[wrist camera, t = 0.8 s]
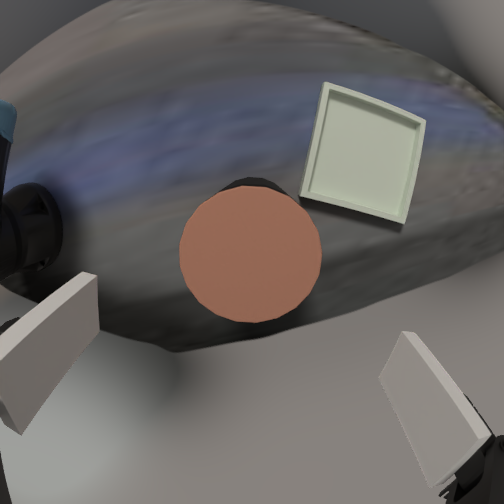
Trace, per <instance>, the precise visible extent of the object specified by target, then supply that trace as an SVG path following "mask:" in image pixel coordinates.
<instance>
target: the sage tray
mask: <svg viewBox="0 0 504 504" xmlns="http://www.w3.org/2000/svg"><path fill="white" fill-rule="evenodd" d="M425 125H426V120H424V119H422V118H420V117H418V116H416V115H414V114H411V113H409V112H407V111H405V110H402V109H400V108H398V107H395V106H393V105H391V104H388V103H386V102H383V101H381V100H378V99H375V98H373V97H370V96H367V95H365V94H362V93H359V92H356V91H353V90H350V89H347V88H344V87H341V86H338V85H335V84H331V83H328V82H324V83H323V84H322V86H321V91H320V96H319V101H318V106H317V111H316V116H315V121H314V125H313V130H312V135H311V140H310V144H309V149H308V153H307V158H306V162H305V167H304V171H303V176H302V180H301V185H300V189H299V193H298V195H299V196H302V197H306V198H310V199H314V200H318V201H322V202H326V203H330V204H334V205H338V206H342V207H346V208H350V209H353V210H357V211H361V212H364V213H368V214H371V215H375V216H378V217H382V218H385V219H389V220H392V221H395V222H399V223H402V224H405V221H406V217H407V213H408V210H409V206H410V202H411V198H412V193H413V189H414V185H415V180H416V176H417V171H418V166H419V161H420V156H421V150H422V144H423V138H424V132H425Z"/></svg>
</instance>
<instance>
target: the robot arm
mask: <svg viewBox="0 0 504 504" xmlns="http://www.w3.org/2000/svg"><path fill="white" fill-rule="evenodd" d="M16 119H17V112H16V109H15V107H14V106H13V105H12V104H10V103H8V102H6V101H3V100H1V99H0V282H1V281H2V280H4V279H5V278H7V277H9V276H10V275H12V274H14V273H21V272H36V271H39V270H42V269H44V268H45V267H47V266H49V265H50V264H52V263H53V262H54V260H55V259H56V258H57V256H58V254H59V251H60V248H61V244H62V221H61V216H60V213H59V209H58V207H57V204H56V202H55V200H54V198H53V197H52V195H51V194H50V193H49V192H48V191H47V190H46V189H45V188H44V187H43V186H41V185H39V184H37V183H25V184H20V185H18V186H15V187H14V188H12V189H11V190H10V191H8V192H7V193H6V194H4V195H3V189H4V182H5V175H6V169H7V164H8V158H9V153H10V149H11V144H13V133H14V128H15V123H16ZM98 332H99V317H98V294H97V275H93V274H89V273H86V272H81V273H80V274H78V275H77V276H75V277H74V278H73V279H71V280H70V281H69V282H67V283H66V284H64V285H63V286H62V287H60V288H59V289H58V290H56V291H55V292H54V293H52V294H51V295H50V296H48V297H47V298H46V299H45V300H43V301H42V302H41V303H39V304H38V305H37V306H36V307H34V308H33V309H32V310H30V311H29V312H28V313H27V314H26V315H24V316H23V317H22V318H19V317H17V318H14V319H12V320H9V321H7V322H5V323H4V324H3V325H2V326H1V327H0V417H1V419H2V421H3V423H4V424H5V425H6V426H7V427H9V428H11V429H12V430H14V431H15V432H17V433H18V434H20V435H22V434H23V432H24V430H25V429H26V428H27V426H28V425H29V423H30V422H31V421H32V419H33V418H34V416H35V415H36V413H37V412H38V411H39V409H40V408H41V406H42V405H43V403H44V402H45V401H46V399H47V398H48V397H49V395H50V394H51V393H52V391H53V390H54V388H55V387H56V386H57V385H58V383H59V382H60V380H61V379H62V378H63V377H64V375H65V374H66V373H67V371H68V370H69V369H70V367H71V366H72V365H73V364H74V362H75V361H76V360H77V358H78V357H79V356H80V355H81V353H82V352H83V351H84V350H85V348H86V347H87V346H88V345H89V343H90V342H91V341H92V340H93V339H94V337H95V336H96V335H97V334H98ZM378 379H379V381H380V383H381V385H382V387H383V389H384V391H385V393H386V395H387V397H388V399H389V401H390V403H391V405H392V407H393V409H394V411H395V413H396V415H397V418H398V420H399V422H400V424H401V426H402V428H403V430H404V432H405V434H406V437H407V439H408V441H409V443H410V445H411V448H412V449H413V452H414V454H415V456H416V459H417V461H418V463H419V465H420V467H421V470H422V472H423V475H424V477H425V479H426V482H427V484H428V486H429V488H431V487H434V486H437V485H440V484H443V483H444V482H446V481H447V480H448V479H449V478H450V477H451V476H452V475H453V474H455V476H456V479H455V480H454V481H453V482H452V483H451V484H450V485H448V486H447V487H446V488H445V489H444V490H443V491H441V492H440V494H439V496H440V497H441V496H442V495H443V494H445V493H446V492H447V491H449V493H448V494H447V495H446V496H444V498H445V499H447V501H446V504H504V435H500V436H497V437H495V435H494V434H493V433H492V431H491V429H490V428H489V427H488V425H487V424H486V422H485V421H484V419H483V418H482V416H481V415H480V414H479V413H478V411H477V409H476V408H475V407H473V404H472V402H471V401H470V400H469V398H468V397H467V396H466V395H465V394H464V393H462V392H461V390H460V389H459V388H458V386H457V385H456V384H455V383H454V381H453V380H452V379H451V377H450V376H449V375H448V373H447V372H446V371H445V369H444V368H443V367H442V365H441V364H440V363H439V362H438V360H436V358H435V357H434V356H433V354H432V353H431V352H430V351H429V349H428V348H427V347H426V346H425V345H424V343H423V342H422V341H421V340H420V338H419V337H418V336H417V335H416V334H415V333H414V332H406V331H402V332H401V334H400V336H399V338H398V341H397V343H396V345H395V347H394V349H393V351H392V353H391V355H390V357H389V359H388V361H387V363H386V365H385V367H384V368H383V370H382V372H381V374H380V376H379V378H378ZM0 504H12V502H11V498H10V495H9V491H8V487H7V483H6V479H5V474H4V470H3V465H2V459H1V453H0Z"/></svg>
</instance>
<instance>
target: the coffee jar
mask: <svg viewBox="0 0 504 504" xmlns="http://www.w3.org/2000/svg"><path fill="white" fill-rule="evenodd" d="M179 252H180V268H181V271H182V273H183V276H184V279H185V282H186V285H187V287H188V288H189V289H190V291H191V292H192V293H193V294H194V296H195V297H196V298H197V300H198V301H199V302H200V303H201V304H202V305H204V306H205V307H207V308H208V309H209V310H211V311H212V312H214V313H215V314H216V315H219V316H222V317H225V318H228V319H230V320H233V321H237V322H253V323H258V322H262V321H267V320H271V319H276V318H278V317H280V316H282V315H284V314H286V313H287V312H289V311H291V310H293V309H295V308H296V307H297V306H298V305H299V304H300V303H301V302H302V301H303V300H304V299H305V298H306V297H307V296H308V295H309V293H310V292H311V290H312V288H313V286H314V284H315V282H316V280H317V278H318V276H319V273H320V266H321V259H322V248H321V243H320V238H319V233H318V230H317V228H316V227H315V225H314V223H313V222H312V220H311V218H310V216H309V215H308V213H307V211H305V210H304V209H303V208H302V207H301V206H300V205H299V204H298V203H297V202H296V201H295V200H293V199H292V198H291V197H290V196H289V195H288V194H287V193H286V192H284V191H283V190H282V189H281V188H280V187H278V186H277V185H276V184H275V183H273V182H271V181H268V180H265V179H263V178H253V177H247V178H244V179H240V180H236V181H234V182H233V183H231V184H230V185H228V186H227V187H225V188H224V189H222V190H221V191H219V192H218V193H216V194H215V195H213V196H212V197H210V198H209V199H208V200H206V201H205V202H204V203H202V204H201V205H200V206H199V207H198V208H197V210H196V211H195V212H194V213H193V215H192V216H191V217H190V219H189V220H188V221H187V223H186V225H185V228H184V231H183V234H182V237H181V241H180V244H179Z"/></svg>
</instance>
